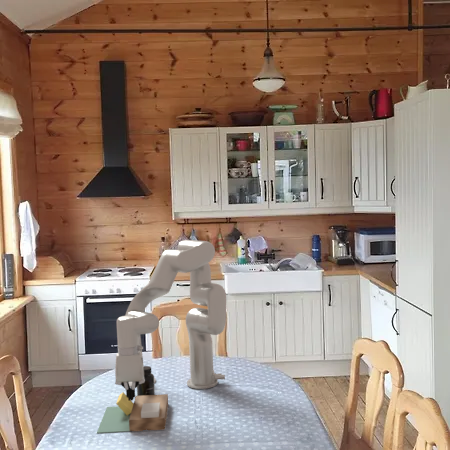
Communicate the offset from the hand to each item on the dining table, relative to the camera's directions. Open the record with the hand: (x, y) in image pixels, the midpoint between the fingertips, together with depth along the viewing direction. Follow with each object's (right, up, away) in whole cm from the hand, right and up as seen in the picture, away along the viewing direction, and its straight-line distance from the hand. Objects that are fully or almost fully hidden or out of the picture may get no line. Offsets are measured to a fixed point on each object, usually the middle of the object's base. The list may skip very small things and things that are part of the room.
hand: (131, 399), depth 214 cm
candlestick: (-1, -3, +32) cm, 32 cm away
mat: (-3, -6, -5) cm, 8 cm away
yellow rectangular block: (-1, -1, 0) cm, 2 cm away
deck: (+8, -5, -5) cm, 10 cm away
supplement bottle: (+4, -4, +14) cm, 15 cm away
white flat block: (+9, -2, -11) cm, 14 cm away
